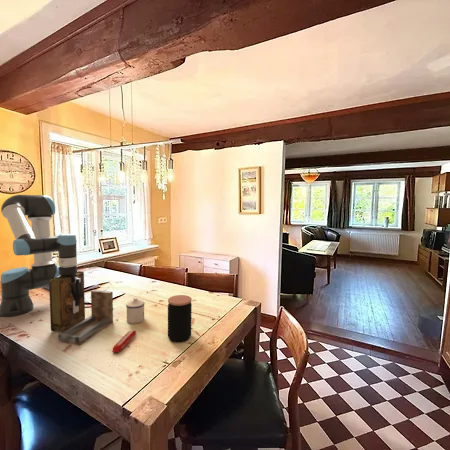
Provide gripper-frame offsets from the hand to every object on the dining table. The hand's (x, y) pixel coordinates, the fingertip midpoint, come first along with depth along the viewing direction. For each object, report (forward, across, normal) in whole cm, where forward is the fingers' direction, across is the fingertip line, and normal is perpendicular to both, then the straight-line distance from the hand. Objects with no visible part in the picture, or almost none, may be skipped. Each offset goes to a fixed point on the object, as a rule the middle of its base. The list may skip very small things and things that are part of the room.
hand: (69, 311), depth 126 cm
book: (+7, 0, 0) cm, 7 cm away
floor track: (+7, +13, -3) cm, 15 cm away
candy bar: (+8, +36, -8) cm, 38 cm away
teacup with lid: (+7, +27, +14) cm, 31 cm away
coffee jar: (+7, +57, +3) cm, 58 cm away
